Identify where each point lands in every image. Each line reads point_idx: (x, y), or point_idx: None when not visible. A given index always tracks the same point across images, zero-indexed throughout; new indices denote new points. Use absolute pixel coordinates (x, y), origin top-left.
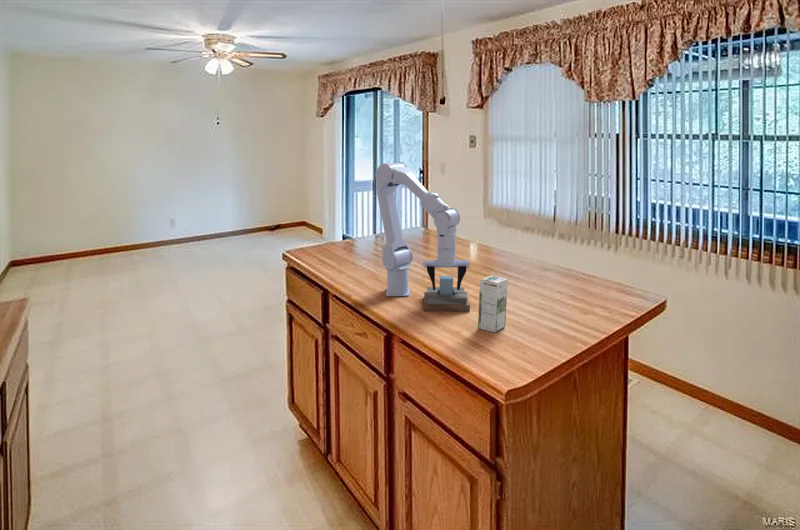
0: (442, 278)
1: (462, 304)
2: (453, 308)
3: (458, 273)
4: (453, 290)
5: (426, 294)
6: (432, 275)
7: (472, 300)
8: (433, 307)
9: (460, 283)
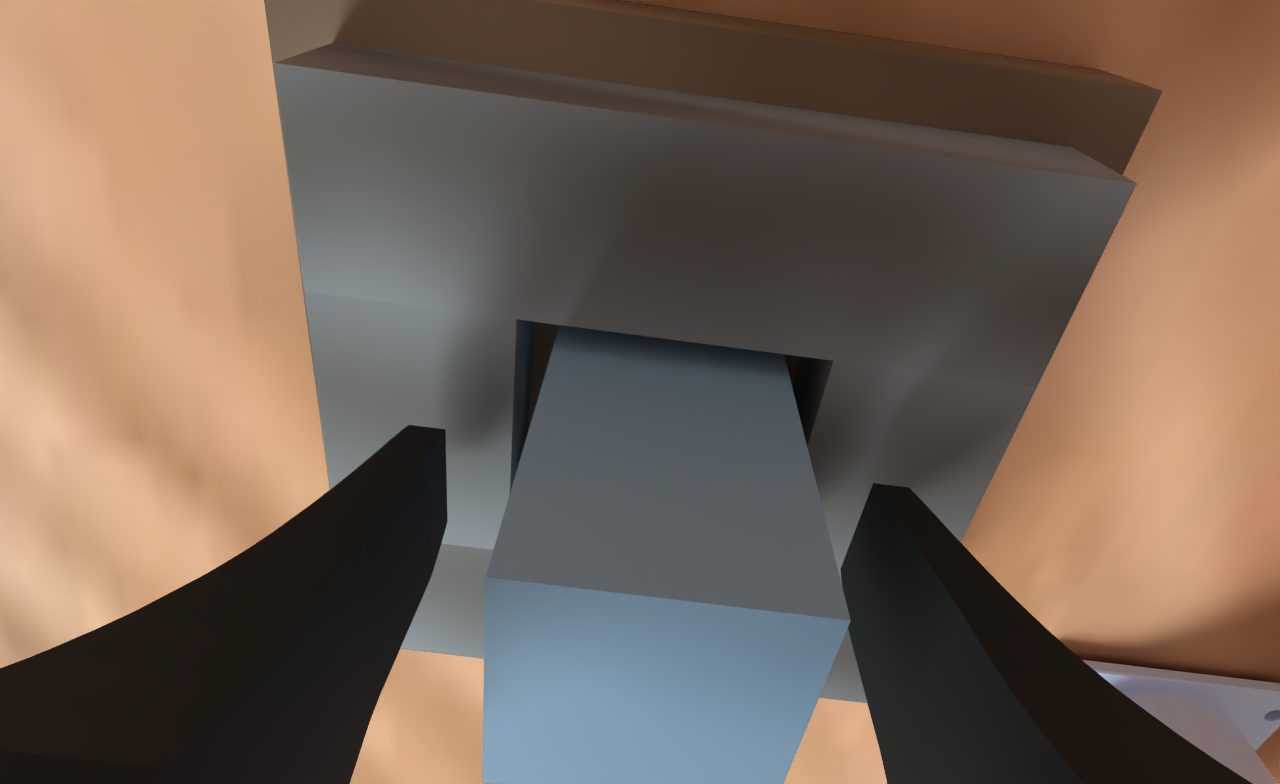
0: (769, 657)
1: (409, 48)
2: (597, 5)
3: (255, 731)
4: None
5: None
6: (1122, 747)
7: (293, 454)
8: (971, 56)
9: (326, 495)
